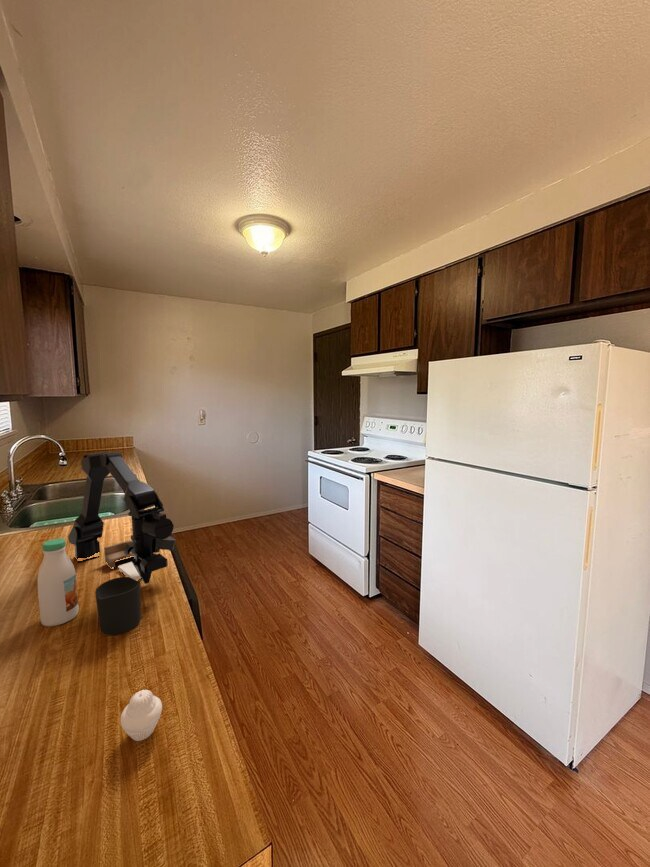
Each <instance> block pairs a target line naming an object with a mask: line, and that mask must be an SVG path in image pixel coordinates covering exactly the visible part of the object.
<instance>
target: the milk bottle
mask: <svg viewBox="0 0 650 867" xmlns="http://www.w3.org/2000/svg"><path fill="white" fill-rule="evenodd" d="M66 543H67V541H66V539H64V538H53V539H49V540H46V541H44V542H43V543H42V546H41V547H42V553H43V560H42V563H41V565H40V567H39V570H38V573H37V597H38V606H39V608H38V609H39V618H40V623H41V625H43V626H44V627H55V626H60V625H62V624H65V623H67V622H69V621H72V620H73V619H74V618H75V617H76V616H77V615H78V614H79V599H78V598H79V597H78V586H77V585H78V583H77V577H76V576H77V575H76V569H75V566H74V563H73V562H72V561H71V559H70V558H69V556H68V554H67V552H66V548H67V546H66Z"/></svg>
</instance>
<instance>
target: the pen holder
mask: <svg viewBox="0 0 650 867" xmlns="http://www.w3.org/2000/svg"><path fill="white" fill-rule="evenodd" d="M94 592H95V593H94V594H95V600H96V610H97V617H98V618H97V619H98V624H99V629H100V633H102V634H103V635H105V636H119V635H123V634H124V633H125V634H126V633H128V632H130V631H132V630H134V628H136V627H137V626H138V625H139V623H140V621H141V620H142V619H141V618H142V616H141V615H142V612H141V609H142V608H141V606H142V604H141V601H142V600H141V598H142V597H141V595H142V594H141V580H139V581H136V580H134V579H132V578H130V577H126V576H120V577H114V578H113V579H109V580H107V581H105V582H102V583H101V584H100V585H98V586H97V588H96V589H95V591H94Z"/></svg>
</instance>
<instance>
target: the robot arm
mask: <svg viewBox="0 0 650 867" xmlns="http://www.w3.org/2000/svg"><path fill="white" fill-rule="evenodd" d="M80 465H81V470H82V471H83V473H84V474H85V476H86V480H85V488H84V493H83V501H82V509H81V513H80V514H79V515H78V516H77V518H76V519H75V520H74V522H73V526H72V528H71V530H70V532H69V534H68V536H67V538H68V543H69V544H71V545H74V554H75V556H76V558H77V559H78V558H87V557H90V556H92V555H94V554H95V553H98V552H100V553H101V546H100V541H99V540H98V539H99V538H102V537H103V532H104V524H105V523H104V521H103V520H102V519H101V517H100V516H99V514H100V508H101V507H100V506H101V501H102V495H103V489H104V488H103V487H104V483H105V479H106V478H107V477H108V475H109V474H110V475H111V476H112V477H113V479H114V480H115V481H116V483H117V484H118V485H119V487H120V488H121V489H122V490H121V491H123V493H124V494H123V495H124V496H123V501H124V503H125V507H126V508H127V509H128V510H129V512H127V515H128V516H130V517H131V526H132V527H131V529H132V530H131V531H132V535H130V540H132V541H133V542H132V543H128V544H127V545H126V546H125V547H124V553H125V554H126V555H127V556H128V555H129V554H130V552H131V551H132V555H133V556H134V558H131V559H130V562H132V563H133V565H134V567H135V568H136V570H137V572H138V573H139V575H140V577H141V578H142V579H141V580H142V582H143V583H144V584H145V585H146V584H149V583H150V581H151V577H152V576H151V573H152V572H154V571H158V570H161V569H164V568H167V567H168V566H169V564H168V558H166V557H165V556H164V555H163V554H161V553H159V552H160V550H164V551H167V550H168V551H174V548H175V545H176V541H177V539H175V538H174V537H173V536H171V535H172V533H173V531H174V523H173V521H172V520H171V519H170V518H168V517H167V514H166V513H163V512H164V511H165V509H164V504H163V502H162V501H161V499H160V498H159V496H158V493H157V492H156V491H155V489H153V487H152V486H151V485H149V484H148V483H146V482H144V481H141V480H140V479H139V478H138V477H137V475H136V474H135V473H134V472H133V470H132V469H131V468H130V466H129V465H128V463H126V462H125V460H124V459H123V455H122V453H121V452H118V451H113V452H109V451H101V452H99V451H98V452H93V453H85V455H83V456H82V458H81V462H80ZM152 574H153V573H152Z"/></svg>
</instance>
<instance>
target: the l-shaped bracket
mask: <svg viewBox="0 0 650 867" xmlns="http://www.w3.org/2000/svg"><path fill="white" fill-rule="evenodd" d="M132 542H133V541H132V540H131V539H130V540H127V541H122V542H119V543H115V544H112V545H111V544H110V545H107V546H104V549H103V550H104V560H105V562H107V563H108V565H109V566H110V567H111V568H112V567H115V568H116V563H115V561H116V560H120V559H123V558H126V557H130V556H133V555H132V551H131V552H130V554H129V555H128V556H127V555H126V554H125V553H124V547H125V546H126V545H127V544H128V543H132Z"/></svg>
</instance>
